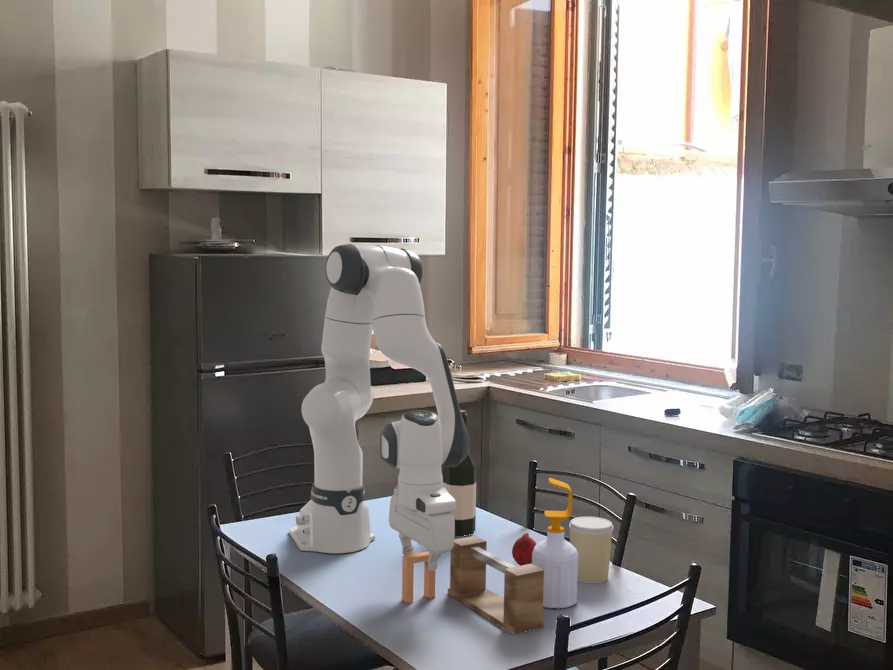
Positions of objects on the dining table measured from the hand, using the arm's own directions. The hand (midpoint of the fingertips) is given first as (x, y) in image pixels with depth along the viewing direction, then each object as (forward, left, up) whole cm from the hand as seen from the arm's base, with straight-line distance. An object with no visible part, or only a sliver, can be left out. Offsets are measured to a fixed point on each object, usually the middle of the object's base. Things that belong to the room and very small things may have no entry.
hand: (419, 562), depth 188 cm
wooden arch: (0, 0, -8) cm, 8 cm away
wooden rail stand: (+12, +10, -7) cm, 17 cm away
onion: (-4, +29, -8) cm, 30 cm away
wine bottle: (-33, +30, -8) cm, 45 cm away
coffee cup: (+7, +38, -8) cm, 39 cm away
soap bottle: (+14, +23, -8) cm, 28 cm away
